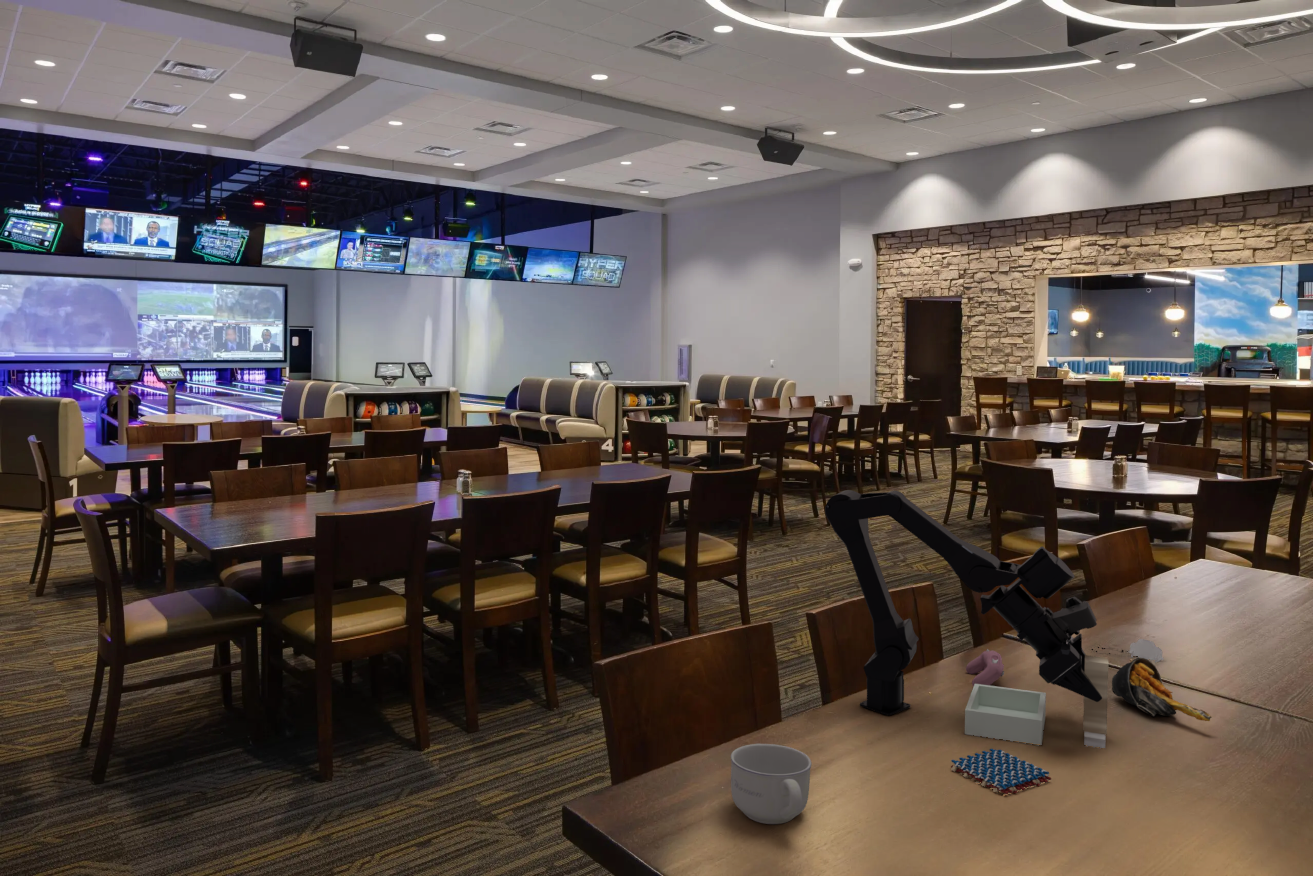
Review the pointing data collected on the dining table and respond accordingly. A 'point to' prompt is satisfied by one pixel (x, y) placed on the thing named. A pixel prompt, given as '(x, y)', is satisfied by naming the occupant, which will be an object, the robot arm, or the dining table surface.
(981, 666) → the video game controller
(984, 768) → the woven mat
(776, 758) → the teacup
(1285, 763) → the dining table surface
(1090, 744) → the plate
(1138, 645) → the car cutout
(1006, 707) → the box
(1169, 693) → the fried shrimp in bowl
